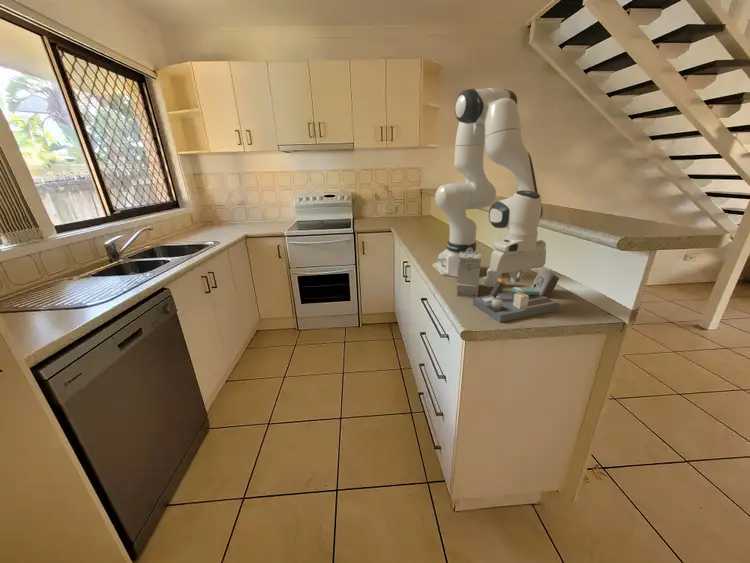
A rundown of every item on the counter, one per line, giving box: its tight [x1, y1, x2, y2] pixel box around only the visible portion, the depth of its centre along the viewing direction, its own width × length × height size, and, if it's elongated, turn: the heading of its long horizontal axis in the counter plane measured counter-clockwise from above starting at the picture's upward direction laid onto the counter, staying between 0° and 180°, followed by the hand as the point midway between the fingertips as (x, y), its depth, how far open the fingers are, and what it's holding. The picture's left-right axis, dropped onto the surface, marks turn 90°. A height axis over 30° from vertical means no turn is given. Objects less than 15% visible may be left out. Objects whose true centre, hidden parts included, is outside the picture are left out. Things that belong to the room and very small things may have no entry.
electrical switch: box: [530, 266, 560, 298], centre depth 114 cm, size 9×5×9 cm, turn 173°
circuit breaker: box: [455, 251, 482, 298], centre depth 118 cm, size 8×14×15 cm, turn 163°
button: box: [491, 298, 503, 309], centre depth 99 cm, size 3×3×2 cm
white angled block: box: [482, 267, 503, 288], centre depth 124 cm, size 4×10×9 cm, turn 110°
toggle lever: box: [489, 278, 506, 298], centre depth 104 cm, size 2×2×6 cm
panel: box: [472, 290, 560, 323], centre depth 104 cm, size 14×23×3 cm, turn 108°
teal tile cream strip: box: [511, 286, 540, 295], centre depth 108 cm, size 8×5×1 cm, turn 108°
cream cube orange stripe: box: [513, 293, 529, 309], centre depth 99 cm, size 3×3×4 cm
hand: (515, 282), depth 106 cm, fingers closed
